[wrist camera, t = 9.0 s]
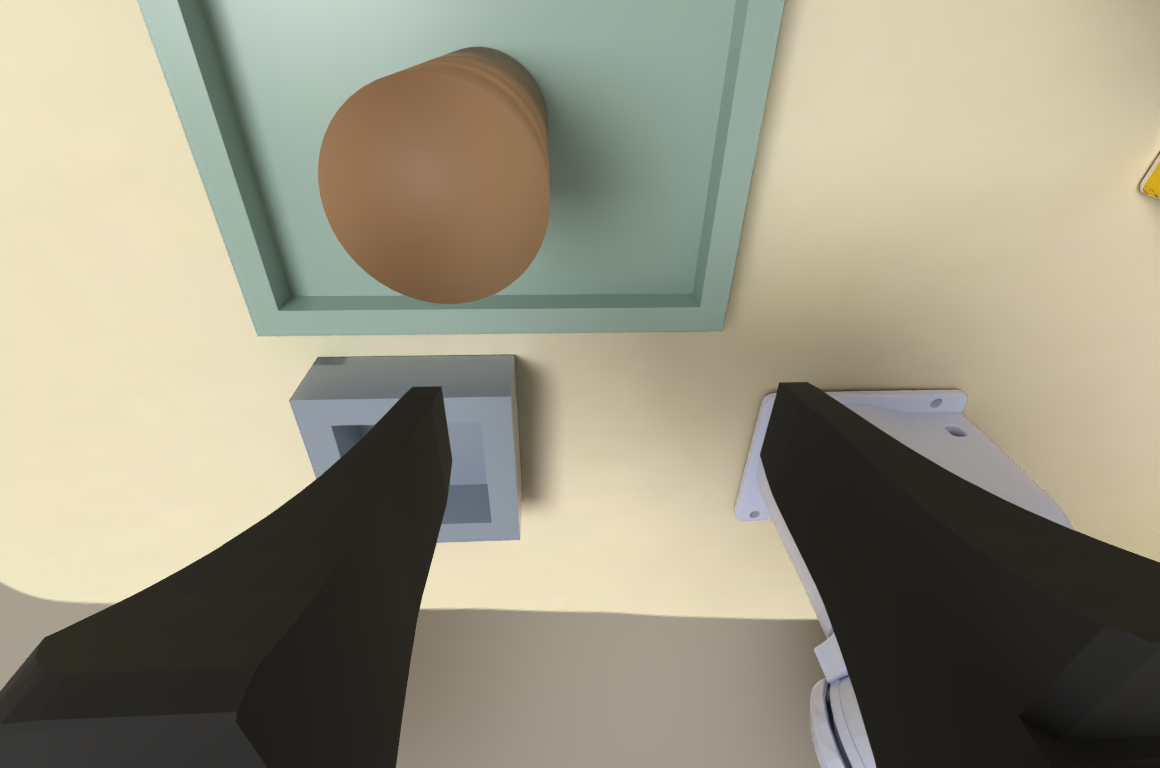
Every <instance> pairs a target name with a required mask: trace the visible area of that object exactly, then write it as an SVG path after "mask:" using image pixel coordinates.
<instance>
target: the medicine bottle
mask: <svg viewBox="0 0 1160 768" xmlns="http://www.w3.org/2000/svg"><path fill="white" fill-rule="evenodd" d="M1140 191H1141V192H1142V193H1144V194H1146V195H1148V196H1152V197H1155V198H1158V199H1160V154H1159V156H1158V157H1157V159H1156V161H1155V162H1154V164H1153V165H1152V167H1151V168H1150V170H1149V171H1148V173H1147V174H1146V176H1145V177H1144V179H1143V180H1142V182H1141V184H1140Z"/></svg>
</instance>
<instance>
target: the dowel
mask: <svg viewBox="0 0 1160 768" xmlns="http://www.w3.org/2000/svg"><path fill="white" fill-rule="evenodd" d="M318 184H319V191H320V197H321V201H322V204H323V208H324V212H325V214H326V217H327V219H328V221H329V224H330V226H331V228H332V230H333V232H334V234H335V235H336V237H337V239H338V241H339V242H340V243H341V245H342V246H343V248H344V249H345V250H346V252H347V253H348V254H349V255H350V257H351V258H352V259H353V260H354V261H355V262H356V263H357V264H358V265H359V266H360V267H361V268H362V269H363V270H364V271H365V272H366V273H368V274H369V275H370V276H372V277H373V278H374V279H376V280H377V281H378V282H380V283H381V284H383V285H385V286H387V287H388V288H390V289H392V290H394V291H396V292H398V293H400V294H403V295H405V296H408V297H411V298H414V299H417V300H421V301H426V302H431V303H439V304H461V303H467V302H473V301H477V300H480V299H484V298H487V297H489V296H491V295H493V294H496V293H498V292H500V291H501V290H503V289H505V288H506V287H508V286H509V285H510V284H512V283H513V282H514V281H515V280H517V279H518V278H519V277H520V276H521V275H522V274H523V273H524V272H525V271H526V270H527V268H528V267H529V266H530V264H531V263H532V261H533V260H534V259H535V257H536V255H537V253H538V251H539V249H540V248H541V245H542V243H543V240H544V237H545V234H546V230H547V226H548V221H549V212H550V187H549V153H548V120H547V110H546V105H545V102H544V98H543V95H542V93H541V91H540V88H539V86H538V85H537V83H536V81H535V79H534V78H533V77H532V75H531V74H530V73H529V71H528V70H527V69H526V68H525V67H524V66H523V65H522V64H521V63H519V62H518V61H517V60H516V59H514V58H513V57H511V56H509V55H508V54H506V53H504V52H501V51H499V50H496V49H492V48H488V47H468V48H463V49H460V50H457V51H454V52H451V53H448V54H446V55H443V56H440V57H437V58H435V59H432V60H429V61H426V62H424V63H421V64H418V65H415V66H413V67H410V68H407V69H404V70H402V71H399V72H396V73H393V74H391V75H388V76H385V77H382V78H380V79H377V80H375V81H373V82H371V83H369V84H367V85H365V86H364V87H362V88H361V89H359V90H358V91H357V92H355V93H354V94H353V95H352V96H350V97H349V98H348V99H347V100H346V101H345V103H344V104H343V105H342V106H341V107H340V108H339V109H338V111H337V112H336V114H335V115H334V117H333V118H332V120H331V121H330V124H329V126H328V128H327V130H326V132H325V135H324V138H323V141H322V145H321V148H320V154H319V162H318Z"/></svg>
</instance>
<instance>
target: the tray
mask: <svg viewBox="0 0 1160 768" xmlns="http://www.w3.org/2000/svg"><path fill="white" fill-rule="evenodd" d="M137 2H138V4H139V7H140V10H141V13H142V15H143V18H144V21H145V24H146V27H147V29H148V32H149V35H150V38H151V40H152V43H153V46H154V49H155V52H156V54H157V57H158V60H159V63H160V66H161V68H162V71H163V74H164V77H165V79H166V82H167V85H168V88H169V91H170V93H171V96H172V99H173V102H174V105H175V107H176V110H177V113H178V116H179V118H180V121H181V124H182V127H183V130H184V132H185V135H186V138H187V141H188V143H189V146H190V149H191V152H192V155H193V157H194V160H195V163H196V166H197V169H198V171H199V174H200V177H201V180H202V182H203V185H204V188H205V191H206V194H207V196H208V199H209V202H210V205H211V207H212V210H213V213H214V216H215V219H216V221H217V224H218V227H219V230H220V233H221V235H222V238H223V241H224V244H225V246H226V249H227V252H228V255H229V258H230V260H231V263H232V266H233V269H234V271H235V274H236V277H237V280H238V283H239V285H240V288H241V291H242V294H243V297H244V299H245V302H246V305H247V308H248V310H249V313H250V316H251V319H252V322H253V324H254V327H255V330H256V333H257V336H326V335H418V334H509V333H601V332H692V331H723V325H724V320H725V315H726V310H727V304H728V299H729V294H730V288H731V283H732V278H733V273H734V267H735V262H736V257H737V251H738V246H739V241H740V236H741V230H742V225H743V220H744V214H745V209H746V204H747V199H748V193H749V188H750V183H751V177H752V172H753V167H754V161H755V156H756V151H757V146H758V140H759V135H760V130H761V124H762V119H763V114H764V109H765V103H766V98H767V93H768V87H769V82H770V77H771V72H772V66H773V61H774V56H775V50H776V45H777V40H778V35H779V29H780V24H781V19H782V13H783V8H784V3H785V0H137ZM468 47H488V48H492V49H496V50H499V51H501V52H504V53H506V54H508V55H509V56H511V57H513V58H514V59H516V60H517V61H518V62H519V63H521V64H522V65H523V66H524V67H525V68H526V69H527V70H528V71H529V73H530V74H531V75H532V77H533V78H534V79H535V81H536V83H537V85H538V86H539V88H540V91H541V93H542V95H543V98H544V102H545V105H546V110H547V120H548V153H549V187H550V212H549V221H548V226H547V230H546V234H545V237H544V240H543V243H542V245H541V248H540V249H539V251H538V253H537V255H536V257H535V259H534V260H533V261H532V263H531V264H530V266H529V267H528V268H527V270H526V271H525V272H524V273H523V274H522V275H521V276H520V277H519V278H518V279H517V280H515V281H514V282H513V283H512V284H510V285H509V286H508V287H506V288H505V289H503V290H501V291H500V292H498V293H496V294H493V295H491V296H489V297H487V298H484V299H480V300H477V301H473V302H467V303H461V304H439V303H431V302H426V301H421V300H417V299H414V298H411V297H408V296H405V295H403V294H400V293H398V292H396V291H394V290H392V289H390V288H388V287H387V286H385V285H383V284H381V283H380V282H378V281H377V280H376V279H374V278H373V277H372V276H370V275H369V274H368V273H366V272H365V271H364V270H363V269H362V268H361V267H360V266H359V265H358V264H357V263H356V262H355V261H354V260H353V259H352V258H351V257H350V255H349V254H348V253H347V252H346V250H345V249H344V248H343V246H342V245H341V243H340V242H339V241H338V239H337V237H336V235H335V234H334V232H333V230H332V228H331V226H330V224H329V221H328V219H327V217H326V214H325V212H324V208H323V204H322V201H321V197H320V191H319V184H318V162H319V154H320V148H321V145H322V141H323V138H324V135H325V132H326V130H327V128H328V126H329V124H330V121H331V120H332V118H333V117H334V115H335V114H336V112H337V111H338V109H339V108H340V107H341V106H342V105H343V104H344V103H345V101H346V100H347V99H348V98H349V97H350V96H352V95H353V94H354V93H355V92H357V91H358V90H359V89H361V88H362V87H364V86H365V85H367V84H369V83H371V82H373V81H375V80H377V79H380V78H382V77H385V76H388V75H391V74H393V73H396V72H399V71H402V70H404V69H407V68H410V67H413V66H415V65H418V64H421V63H424V62H426V61H429V60H432V59H435V58H437V57H440V56H443V55H446V54H448V53H451V52H454V51H457V50H460V49H463V48H468Z"/></svg>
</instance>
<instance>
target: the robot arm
mask: <svg viewBox="0 0 1160 768" xmlns="http://www.w3.org/2000/svg"><path fill="white" fill-rule="evenodd" d="M933 400H935V401H933ZM932 401H933V402H932ZM967 401H968V397H967V395H966V394H965V393H964V392H962V391H961V390H957V389H954V390H898V391H842V392H823V391H821V390H820V389H818V388H816V387H815V386H813V385H811V384H809V383H807V382H792V383H779V386H778V390H777V393H770V394H768V395H766V396H765V397H764V398H763V400H762V402H761V406H760V410H759V414H758V418H757V422H756V426H755V430H754V434H753V437H752V441H751V445H750V449H749V453H748V457H747V461H746V465H745V469H744V473H743V476H742V480H741V484H740V488H739V492H738V496H737V500H736V504H735V508H734V514H735V517H736V518H737V519H738V520H741V521H751V520H773V522H774V524H775V526H776V528H777V530H778V533H779V535H780V537H781V539H782V541H783V544H784V546H785V548H786V550H787V552H788V554H789V557H790V559H791V561H792V563H793V565H794V568H795V570H796V572H797V574H798V576H799V578H800V581H801V583H802V585H803V587H804V589H805V592H806V594H807V596H808V598H809V600H810V602H811V605H812V607H813V609H814V611H815V613H816V616H817V618H818V620H819V622H820V624H821V626H822V629H823V631H824V633H825V635H826V637H827V640H826V641H825V642H823V643H822V644H821V645H819V646H817V647H816V648H815V649H814V651H815V654H816V656H817V658H818V661H819V663H820V665H821V668H822V670H823V672H824V675H825V677H826V678H824V679H822V680H820V681H818V683H817V684H816V685H815V686H814V687H813V689H812V692H811V701H810V708H811V716H810V725H811V734H812V739H813V743H814V747H815V751H816V754H817V757H818V761H819V763H820V766H821V768H1160V562H1157V561H1154V560H1151V559H1148V558H1146V557H1143V556H1140V555H1137V554H1135V553H1132V552H1129V551H1127V550H1124V549H1121V548H1118V547H1116V546H1113V545H1110V544H1108V543H1105V542H1102V541H1100V540H1097V539H1095V538H1092V537H1090V536H1087V535H1085V534H1082V533H1080V532H1077V531H1074V530H1073V528H1072V526H1071V524H1070V522H1069V520H1068V519H1067V517H1066V515H1065V514H1064V512H1063V511H1062V510H1061V508H1060V507H1059V506H1058V504H1057V503H1056V502H1055V501H1054V500H1053V499H1052V498H1051V497H1050V496H1049V495H1048V494H1047V493H1046V492H1045V491H1044V490H1043V489H1042V488H1041V487H1040V486H1039V485H1038V484H1037V483H1035V482H1034V481H1033V480H1032V479H1031V478H1030V477H1029V476H1028V475H1027V474H1026V473H1025V472H1024V471H1023V470H1022V469H1021V468H1020V467H1018V466H1017V465H1016V464H1015V463H1014V462H1013V461H1012V460H1011V459H1010V458H1009V457H1008V456H1007V455H1006V454H1005V453H1004V452H1003V451H1002V450H1000V449H999V448H998V447H997V446H996V445H995V444H994V443H993V442H992V441H991V440H990V439H989V438H988V437H987V436H986V435H985V434H983V433H982V432H981V431H980V430H979V429H978V428H977V427H976V426H975V425H974V424H973V423H972V422H971V421H970V420H969V419H968V418H967V417H965V416H964V415H963V414H962V411H963V409H964V407H965V405H966V403H967ZM451 468H452V454H451V447H450V440H449V433H448V426H447V420H446V413H445V406H444V399H443V392H442V386H427V387H411V388H410V389H409V390H408V391H407V392H406V393H405V394H404V395H403V396H402V397H401V398H400V399H399V400H398V401H397V402H396V403H395V404H394V406H393V407H392V408H391V409H390V410H389V411H388V412H387V413H386V414H385V415H384V416H383V417H382V418H381V419H380V420H379V421H378V422H377V423H376V424H375V425H374V426H373V427H372V428H371V429H370V430H369V431H368V432H367V433H366V434H365V435H364V436H363V437H362V438H361V439H360V440H359V441H358V442H357V443H356V444H355V445H354V446H353V447H352V448H351V449H350V450H349V451H348V452H347V453H346V454H344V455H343V456H342V457H341V458H340V459H339V460H338V461H337V462H335V463H334V464H333V465H332V466H331V467H330V468H329V469H328V470H326V471H325V472H324V473H323V474H322V475H321V476H320V477H318V478H317V479H316V480H315V481H314V482H312V483H311V484H310V485H309V486H307V487H306V488H305V489H304V490H302V491H301V492H300V493H298V494H297V495H296V496H294V497H293V498H292V499H290V500H289V501H288V502H286V503H285V504H284V505H282V506H281V507H280V508H278V509H277V510H275V511H274V512H273V513H271V514H270V515H268V516H267V517H266V518H264V519H262V520H261V521H259V522H258V523H256V524H255V525H253V526H252V527H250V528H249V529H247V530H245V531H244V532H242V533H241V534H239V535H238V536H236V537H235V538H233V539H232V540H230V541H228V542H227V543H225V544H224V545H222V546H221V547H219V548H218V549H216V550H214V551H213V552H211V553H209V554H208V555H206V556H204V557H202V558H201V559H199V560H197V561H195V562H194V563H192V564H190V565H189V566H187V567H185V568H183V569H182V570H180V571H178V572H176V573H174V574H172V575H170V576H169V577H167V578H165V579H163V580H161V581H159V582H158V583H156V584H154V585H152V586H150V587H148V588H146V589H144V590H142V591H141V592H139V593H137V594H135V595H133V596H131V597H129V598H127V599H125V600H123V601H121V602H119V603H116V604H114V605H112V606H110V607H108V608H106V609H104V610H102V611H100V612H98V613H96V614H94V615H92V616H89V617H88V618H85V619H83V620H81V621H79V622H77V623H75V624H73V625H71V626H69V627H67V628H65V629H62V630H60V631H58V632H56V633H54V634H51V635H49V636H47V637H45V638H44V639H43V640H42V641H41V643H40V644H39V645H38V646H37V647H36V648H35V650H34V651H33V652H32V653H31V654H30V656H29V657H28V658H27V659H26V661H25V662H24V663H23V664H22V666H21V667H20V668H19V669H18V670H17V672H16V673H15V674H14V675H13V676H12V678H11V679H10V680H9V681H8V683H7V684H6V685H5V686H4V688H3V689H2V690H1V691H0V768H396V761H397V753H398V746H399V738H400V730H401V723H402V715H403V709H404V701H405V695H406V688H407V680H408V674H409V667H410V661H411V655H412V648H413V642H414V636H415V629H416V623H417V618H418V613H419V609H420V604H421V600H422V595H423V592H424V588H425V584H426V580H427V577H428V573H429V569H430V565H431V562H432V558H433V554H434V550H435V547H436V543H437V539H438V535H439V532H440V528H441V524H442V520H443V516H444V512H445V508H446V504H447V499H448V492H449V485H450V477H451ZM753 511H754V512H753Z"/></svg>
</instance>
